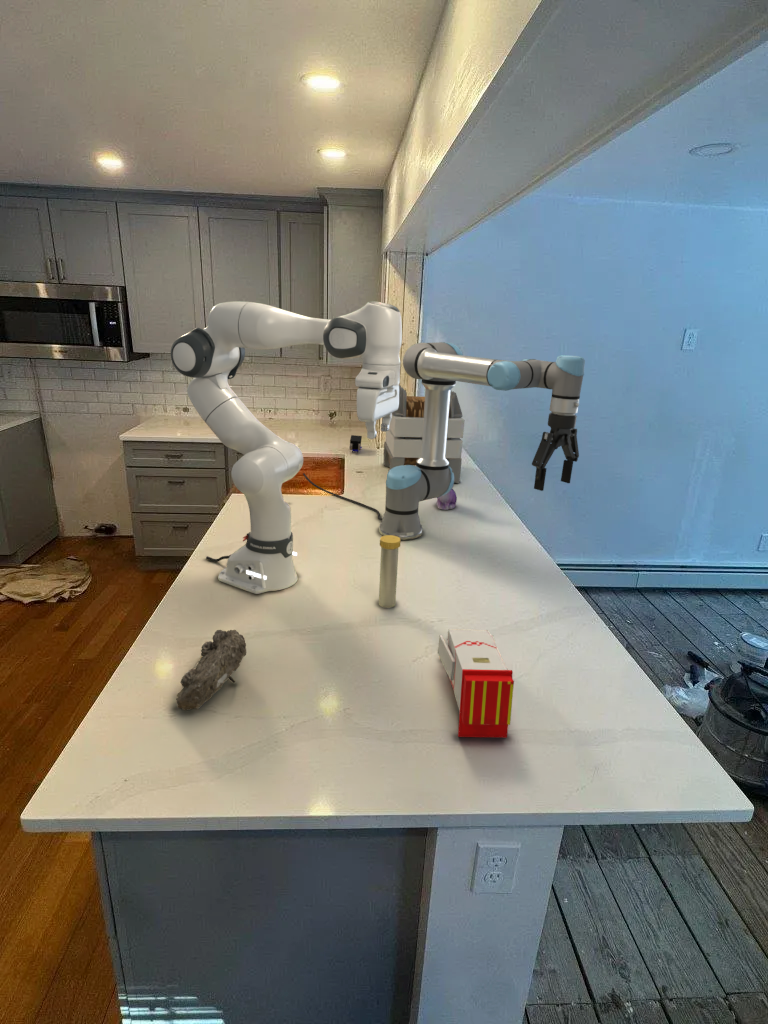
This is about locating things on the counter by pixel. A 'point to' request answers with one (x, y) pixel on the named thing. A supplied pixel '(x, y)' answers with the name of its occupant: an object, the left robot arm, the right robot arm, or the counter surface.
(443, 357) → the right robot arm
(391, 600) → the beige cylinder
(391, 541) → the lid
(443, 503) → the figurine
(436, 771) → the counter surface
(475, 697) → the toy
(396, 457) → the grey slatted box
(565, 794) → the counter surface
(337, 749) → the counter surface
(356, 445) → the figurine character
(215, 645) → the fossil
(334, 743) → the counter surface
